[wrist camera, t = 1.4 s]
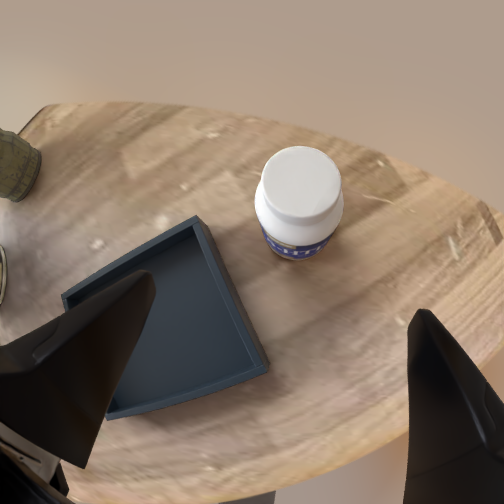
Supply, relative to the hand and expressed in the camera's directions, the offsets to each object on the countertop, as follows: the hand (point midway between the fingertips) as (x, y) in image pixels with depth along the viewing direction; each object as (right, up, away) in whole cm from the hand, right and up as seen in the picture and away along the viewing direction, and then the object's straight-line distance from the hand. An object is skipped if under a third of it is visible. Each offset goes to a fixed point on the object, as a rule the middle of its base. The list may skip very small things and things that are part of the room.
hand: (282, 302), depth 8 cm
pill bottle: (+3, +3, +13) cm, 14 cm away
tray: (-9, -5, +13) cm, 17 cm away
